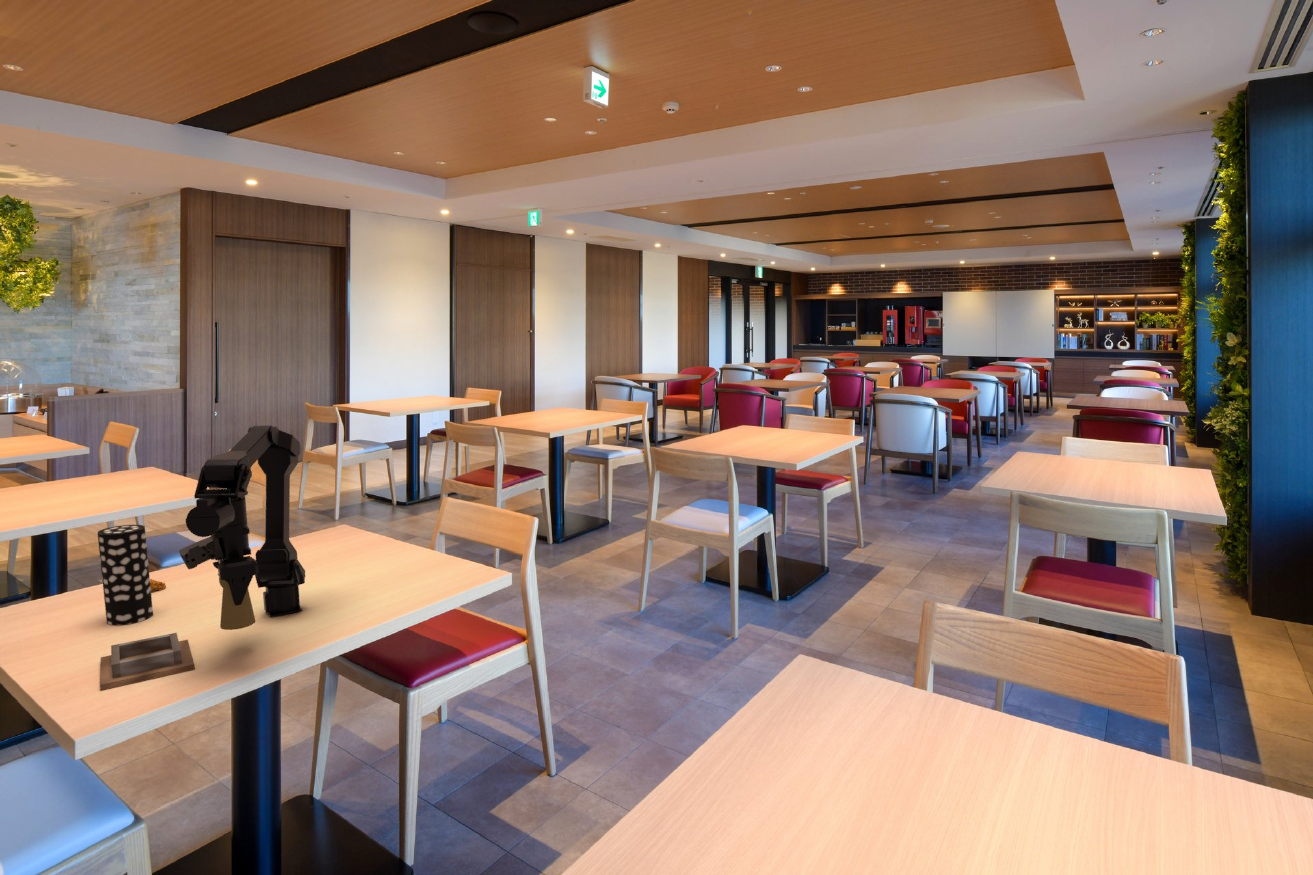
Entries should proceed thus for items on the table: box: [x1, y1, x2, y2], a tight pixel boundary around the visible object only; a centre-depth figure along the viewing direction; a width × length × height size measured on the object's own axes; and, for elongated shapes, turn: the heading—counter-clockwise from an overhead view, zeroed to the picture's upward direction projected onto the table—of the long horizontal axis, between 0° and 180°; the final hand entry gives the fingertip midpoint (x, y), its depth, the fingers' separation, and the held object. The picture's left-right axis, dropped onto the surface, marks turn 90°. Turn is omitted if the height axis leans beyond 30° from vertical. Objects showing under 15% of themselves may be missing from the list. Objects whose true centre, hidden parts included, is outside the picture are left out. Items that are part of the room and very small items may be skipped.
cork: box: [218, 577, 257, 631], centre depth 143 cm, size 6×6×11 cm
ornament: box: [150, 578, 167, 591], centre depth 177 cm, size 7×10×15 cm
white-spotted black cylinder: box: [97, 524, 154, 626], centre depth 161 cm, size 8×8×20 cm
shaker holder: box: [99, 632, 196, 691], centre depth 138 cm, size 14×14×4 cm
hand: (236, 601), depth 143 cm, fingers closed on cork, 4 cm apart
